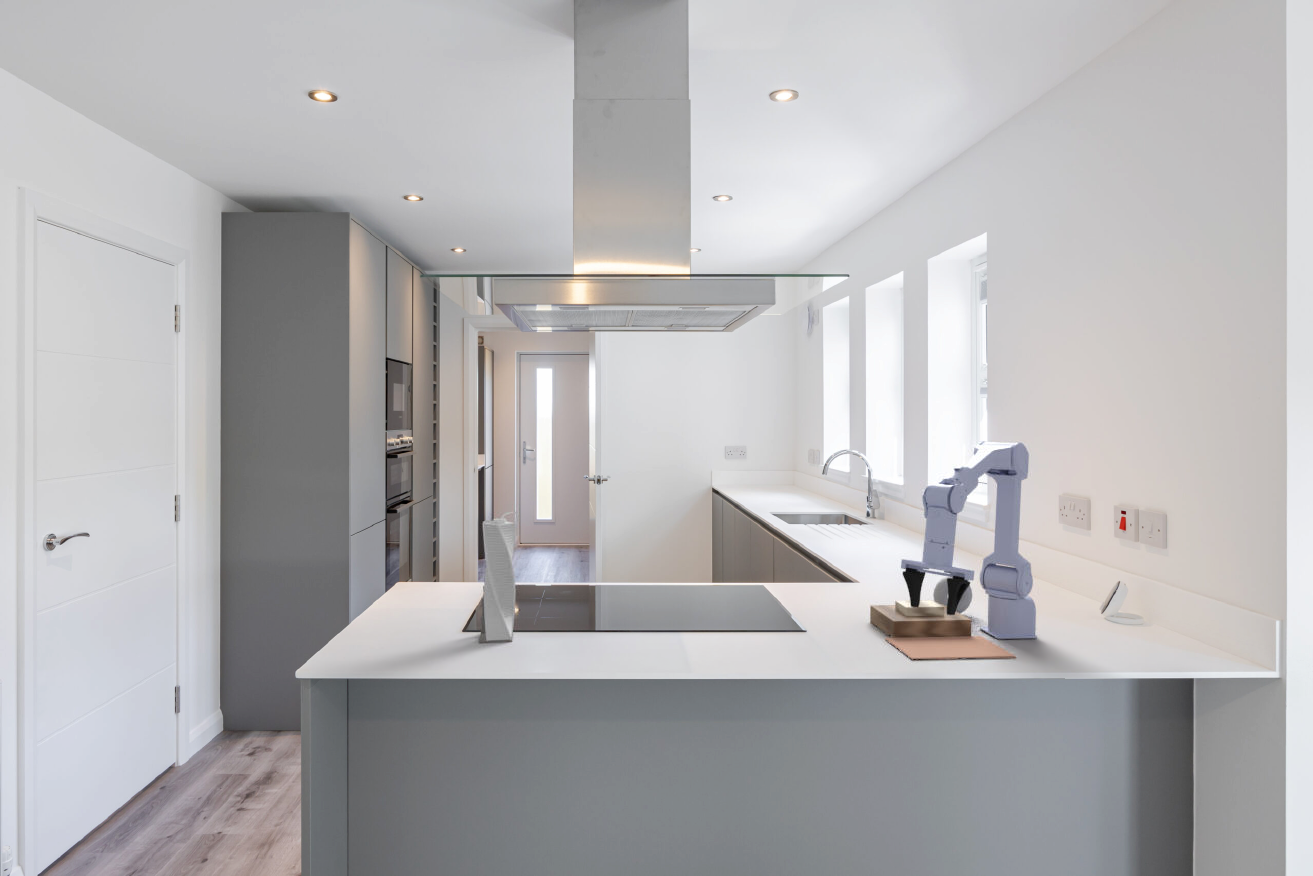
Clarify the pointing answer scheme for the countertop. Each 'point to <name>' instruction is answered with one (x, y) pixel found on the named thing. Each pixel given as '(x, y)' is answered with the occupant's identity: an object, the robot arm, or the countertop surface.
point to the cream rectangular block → (920, 608)
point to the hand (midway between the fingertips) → (932, 610)
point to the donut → (942, 595)
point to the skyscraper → (498, 581)
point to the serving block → (919, 623)
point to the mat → (949, 647)
